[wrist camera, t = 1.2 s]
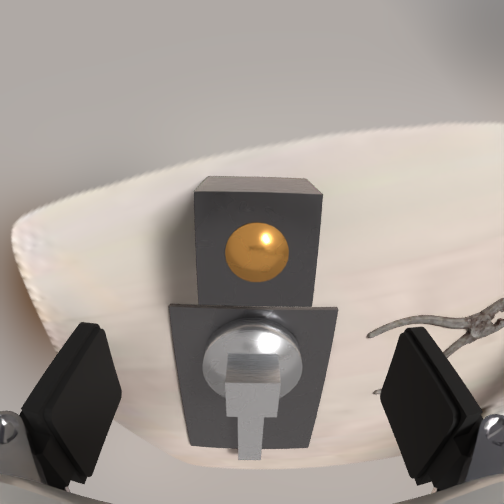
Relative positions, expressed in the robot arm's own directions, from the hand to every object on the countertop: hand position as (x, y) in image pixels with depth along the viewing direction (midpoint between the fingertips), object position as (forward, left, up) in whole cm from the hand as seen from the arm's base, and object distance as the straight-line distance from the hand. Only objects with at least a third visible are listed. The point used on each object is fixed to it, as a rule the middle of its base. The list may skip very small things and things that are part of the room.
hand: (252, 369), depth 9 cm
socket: (0, 0, -16) cm, 16 cm away
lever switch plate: (0, +17, -16) cm, 23 cm away
